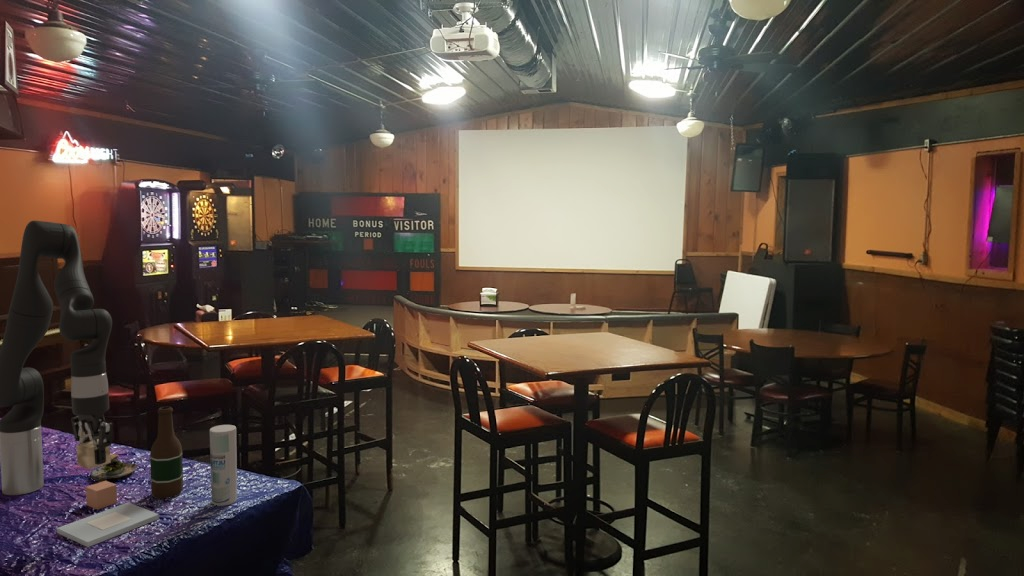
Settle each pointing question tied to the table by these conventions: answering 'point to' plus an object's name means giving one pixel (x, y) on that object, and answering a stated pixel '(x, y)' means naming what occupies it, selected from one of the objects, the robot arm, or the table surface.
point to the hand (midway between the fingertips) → (94, 461)
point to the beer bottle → (166, 458)
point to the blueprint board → (107, 524)
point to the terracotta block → (101, 494)
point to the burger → (112, 469)
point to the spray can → (223, 464)
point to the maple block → (89, 455)
